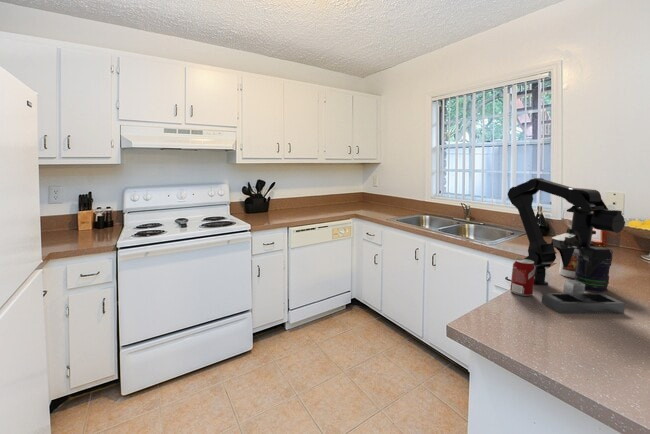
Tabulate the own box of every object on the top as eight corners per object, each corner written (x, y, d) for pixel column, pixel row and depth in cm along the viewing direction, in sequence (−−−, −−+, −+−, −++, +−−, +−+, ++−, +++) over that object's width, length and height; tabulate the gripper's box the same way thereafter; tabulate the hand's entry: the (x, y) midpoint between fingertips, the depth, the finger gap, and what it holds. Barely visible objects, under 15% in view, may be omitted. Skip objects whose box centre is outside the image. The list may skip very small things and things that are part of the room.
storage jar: (615, 292, 113) (621, 252, 111) (587, 292, 113) (593, 251, 111) (592, 282, 123) (597, 245, 121) (566, 282, 123) (571, 245, 121)
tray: (541, 302, 104) (542, 293, 104) (600, 302, 104) (602, 293, 104) (559, 313, 96) (561, 303, 96) (623, 313, 97) (625, 303, 96)
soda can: (521, 298, 107) (525, 264, 106) (505, 290, 114) (508, 258, 112) (537, 296, 109) (541, 262, 107) (520, 289, 116) (524, 257, 114)
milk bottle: (554, 273, 134) (560, 227, 131) (567, 271, 136) (573, 226, 133) (573, 279, 126) (580, 230, 123) (587, 277, 129) (593, 229, 126)
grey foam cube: (562, 293, 112) (564, 280, 111) (573, 293, 112) (575, 280, 111) (571, 298, 108) (573, 284, 107) (583, 298, 108) (585, 284, 107)
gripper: (539, 221, 115) (534, 262, 118) (581, 232, 97) (574, 280, 99) (569, 222, 115) (563, 263, 118) (616, 232, 97) (609, 280, 99)
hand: (575, 271), depth 109 cm, fingers open, 9 cm apart
